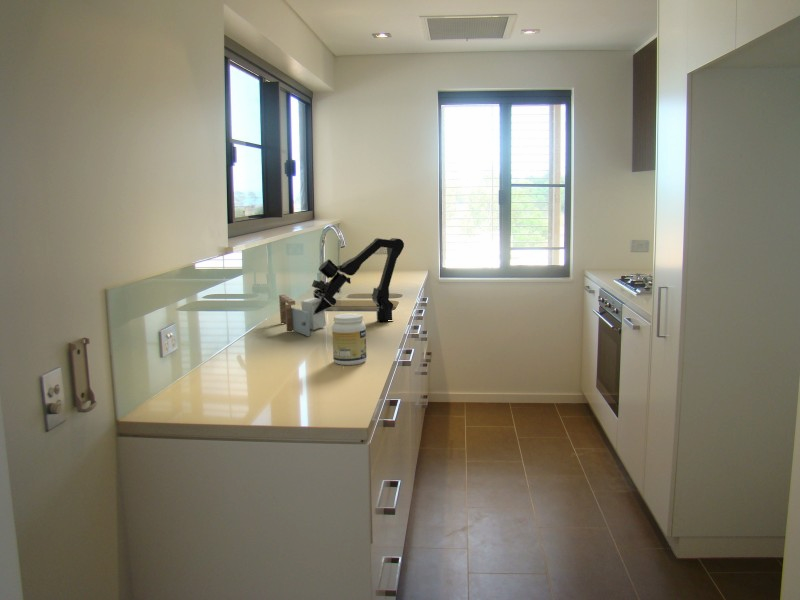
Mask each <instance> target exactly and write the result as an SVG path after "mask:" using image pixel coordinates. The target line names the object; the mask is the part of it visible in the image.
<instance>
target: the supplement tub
mask: <svg viewBox="0 0 800 600" xmlns="http://www.w3.org/2000/svg"><path fill="white" fill-rule="evenodd" d="M363 317H364V315H363V314H361V313H355V312H354V313H341V314H339V313H338V314H336V315H333V322H334V323H333V324H332V325H331V335H332V355H333V356H332V359H333V362H334V363H335V364H337V365H341V366H354V365H359V364H363V363H365V362H366V361H367V359H368V358H367V356H368V354H367V335H366V334H367V333H366V332H367V330H366V324H365V322H364V318H363Z"/></svg>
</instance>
